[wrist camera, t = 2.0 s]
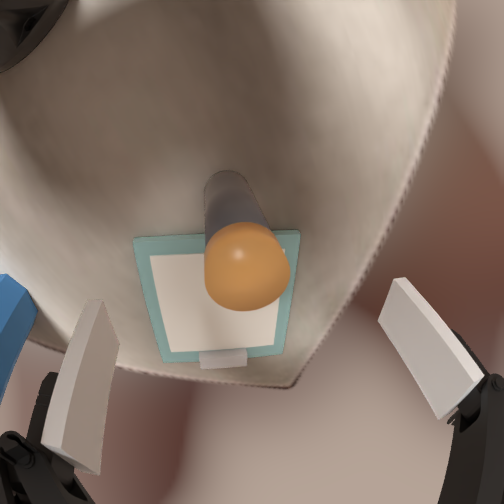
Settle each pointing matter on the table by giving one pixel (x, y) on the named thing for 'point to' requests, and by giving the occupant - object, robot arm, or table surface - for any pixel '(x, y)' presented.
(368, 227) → the table surface
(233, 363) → the clipboard
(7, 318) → the water bottle
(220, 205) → the marker
